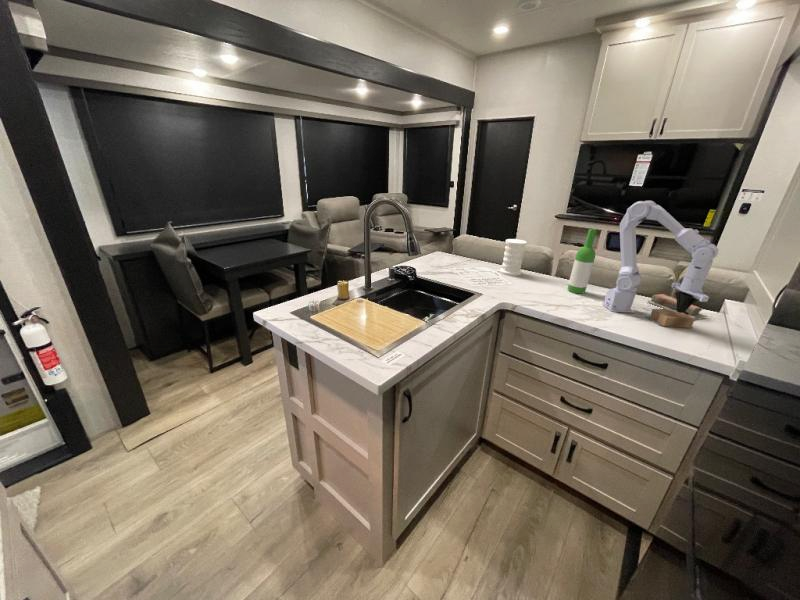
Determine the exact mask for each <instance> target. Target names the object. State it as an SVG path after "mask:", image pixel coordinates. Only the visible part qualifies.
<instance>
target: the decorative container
mask: <svg viewBox="0 0 800 600" xmlns="http://www.w3.org/2000/svg"><path fill="white" fill-rule="evenodd" d="M505 244H506V245H505V246H504V249H505V250H504V253H503V255H504V256H503V259H502V260H503V261H502V264H501V265H502V267H501V268H499V269H500V270H499V273H501V274H502V275H505V276H509V277H520V276H521V275H522V270H521V268H522V263H523V259H524V255H525V254H524V252H525V246H527V245H528V244H527V241H526V240H524V239H518V238H507V239H505Z"/></svg>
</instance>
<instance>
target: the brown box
mask: <svg viewBox="0 0 800 600" xmlns="http://www.w3.org/2000/svg"><path fill="white" fill-rule="evenodd" d="M649 316H650V317H651V318H652V319H654V320H655V321H657V322H658V323H660V324H661V325H663V326H662V327H673V328H691V327H692V328H693V324H694V322H695V321H696V319H694V318H692V317H690V316H688V315H687V314H685V313H679V312H677V311H676V310H666V309H660V308H652V311H651V313H650V315H649ZM692 328H691V329H692Z"/></svg>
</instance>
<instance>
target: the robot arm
mask: <svg viewBox="0 0 800 600" xmlns="http://www.w3.org/2000/svg"><path fill="white" fill-rule="evenodd" d="M644 220H652V221H657V222H658V223H660V224H661V225H662V226H663V227H665V228H666V229H667V230H669V232H671V233H672V234H674V235H675V238H674V240H675V242H677V243H678V244H679V245H680V246H681V247H682V248H683V249H684V250H686V251H687V252H688V253H690V254H691V257H692V259H691V261H690V263H689V264H688V267H687V269H686V272H685V274H684V276H683V279H682V281H681V283H680V282H672V283H671V285H670V287H671V288H672V289H676V290H678V292H674V294H675V299H676V300H677V308H676V311H677V312H679V313H684V312H685V311H686V310H687V309H688V308H689V307H690V306H691V305H694V304H695V303H696V302H697V301H699V302H701V303H703V302H704V303H708V300H709V299H710V296H709V295H706V294H705V293H704V292H703V291H704V290H702V288H703V286H704V284H705V281H706V279H707V277H708V275H709V272H710V270H711V266H712V265H713V262H714V259H715V258H716V257H718V255H719V249H718V247H717V246H716V245H715V244H714V243H711V241H710V240H709V239H707V240H706V239H705V238H704V237H703V236H702V235H700V234H699V233H700V231H699V230H698V229H693V228H691V227H690V228H686V227H684V226H683V225H682V224H681V223H680V222H679V221H677V220H676V218H674V216H672V215H671V214H670V213H669V212H667V210H666V209H665V208H663V207H662V206H661V205H659V204H657V203H656V202H655V201H653V200H644V201H643V200H639V201H636V202H634V203H633V204H632V205H631V206H629V207H628V208H626V213H625V214H624V215H623V218H622V219H621V221H620V223H619V239H620V240H619V241H620V244H619V245H620V270H619V272H618V278H617V279H616V282H615V284H616V287H614V288H613V287H612V288H609V289H608V290H607V292H606V295H605V298H604V302H602V305H603V306H604V307H605V308H606V309H608V310H610V311H611V312H613V313H614V312H615V313H616V312H617V313H629V314H631V313H633V314H635V313H636V311H635V310H633V309H632V307H633V303H634V301H635V297H636V295H637V292H638V288H637V287H638V286H639V285H641V283H642V281H643V277H642V276H641V274H640V269H639V267H638V265H637V264H638V263H637V262H638V261H637V230H636V229H637V228H636V227H638V225H639V224H641V223H642V222H643V221H644Z"/></svg>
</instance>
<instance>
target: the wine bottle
mask: <svg viewBox="0 0 800 600" xmlns="http://www.w3.org/2000/svg"><path fill="white" fill-rule="evenodd" d="M596 233H597V229H596V228H588V231H587V235H586V238H585V241H584V245H583V246H582V247H580V248H579V249H578V250H577V252H576V254H575V258H574V261H573V265H572V270H571V272H570V273H571V274H570V277H569V281H568V285H567V290H568V291H569V292H570V293H574V294H578V295H579V294H584V293H585V292H586V290H587V287H588V284H589V280H590V276H591V273H592V269H593V267H594V263H595V262H594V261H595V258H596V251H595V249H594V248H593V244H594V240H595V236H596Z"/></svg>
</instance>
